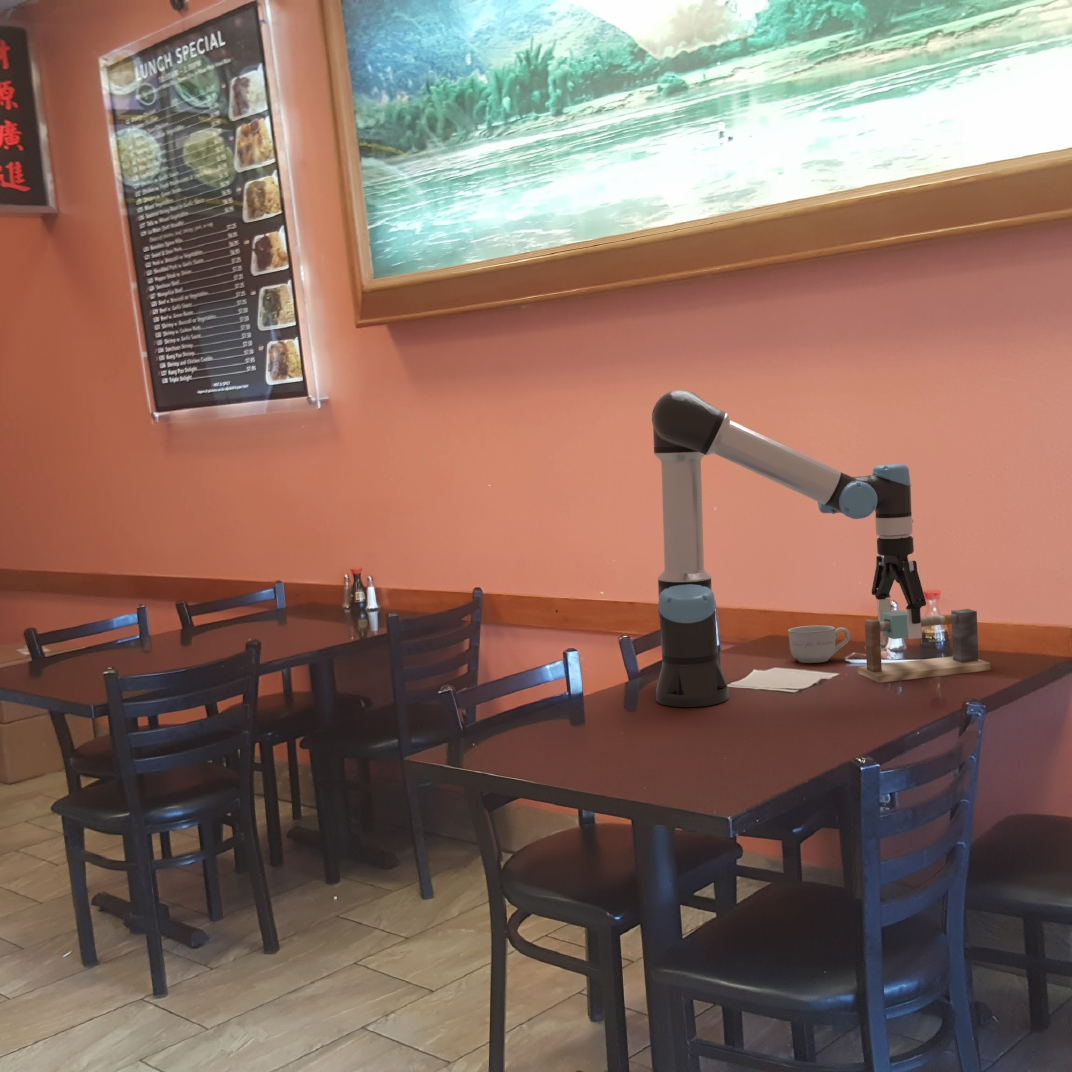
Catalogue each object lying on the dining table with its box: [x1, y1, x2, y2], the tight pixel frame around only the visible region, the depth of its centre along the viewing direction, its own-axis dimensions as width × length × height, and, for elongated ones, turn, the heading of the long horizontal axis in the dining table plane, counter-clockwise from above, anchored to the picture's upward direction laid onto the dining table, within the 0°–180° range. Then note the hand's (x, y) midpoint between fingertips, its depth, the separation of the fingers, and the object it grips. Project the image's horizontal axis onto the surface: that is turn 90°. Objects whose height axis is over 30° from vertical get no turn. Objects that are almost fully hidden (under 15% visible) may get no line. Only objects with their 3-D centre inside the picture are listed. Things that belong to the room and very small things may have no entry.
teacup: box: [787, 625, 851, 664], centre depth 279 cm, size 14×11×8 cm
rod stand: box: [857, 608, 992, 683], centre depth 261 cm, size 26×10×12 cm, turn 100°
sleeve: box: [882, 610, 908, 640], centre depth 260 cm, size 5×5×5 cm
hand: (899, 633), depth 260 cm, fingers open, 13 cm apart
